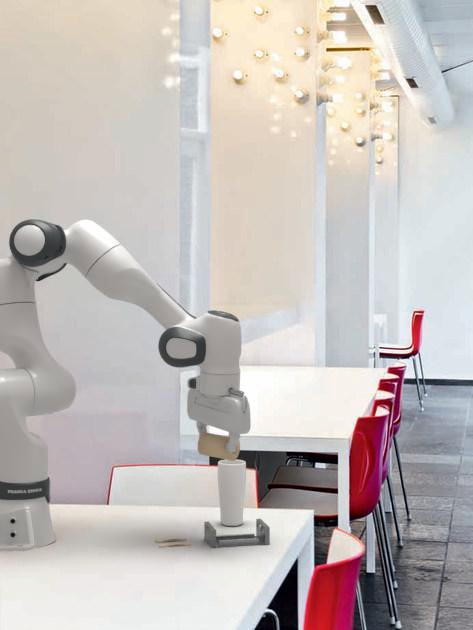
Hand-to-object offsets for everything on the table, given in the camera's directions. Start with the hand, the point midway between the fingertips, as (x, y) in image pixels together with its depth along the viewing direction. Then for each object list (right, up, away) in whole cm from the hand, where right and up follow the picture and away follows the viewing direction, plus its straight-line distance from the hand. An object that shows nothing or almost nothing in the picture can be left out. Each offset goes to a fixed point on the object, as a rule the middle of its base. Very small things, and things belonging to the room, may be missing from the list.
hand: (217, 446), depth 245 cm
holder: (+4, -22, +1) cm, 22 cm away
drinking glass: (+3, -21, +19) cm, 29 cm away
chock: (-10, -22, 0) cm, 24 cm away
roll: (0, 0, 0) cm, 0 cm away
